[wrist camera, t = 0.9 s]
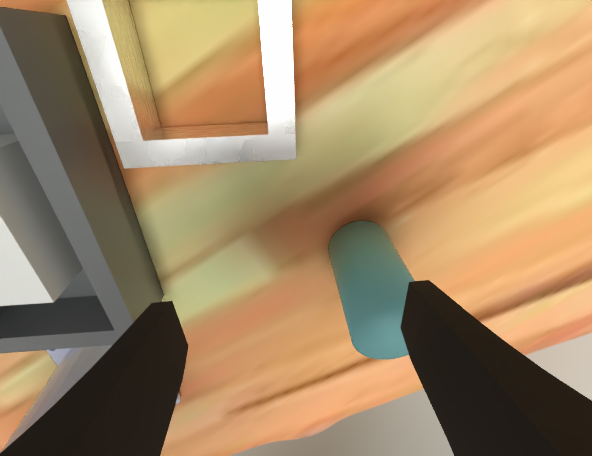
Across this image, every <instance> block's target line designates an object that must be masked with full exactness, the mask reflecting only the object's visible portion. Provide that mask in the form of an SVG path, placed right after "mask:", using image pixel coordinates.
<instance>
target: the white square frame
mask: <svg viewBox="0 0 592 456" xmlns="http://www.w3.org/2000/svg"><path fill="white" fill-rule="evenodd" d="M67 3H68V6H69V9H70V12H71V15H72V18H73V21H74V24H75V27H76V30H77V32H78V35H79V38H80V41H81V44H82V47H83V50H84V53H85V56H86V59H87V62H88V65H89V67H90V70H91V73H92V76H93V79H94V82H95V85H96V88H97V91H98V94H99V97H100V100H101V102H102V105H103V108H104V111H105V114H106V117H107V120H108V123H109V126H110V129H111V132H112V135H113V137H114V140H115V143H116V146H117V149H118V152H119V155H120V158H121V161H122V164H123V167H124V168H141V167H160V166H179V165H198V164H217V163H236V162H255V161H273V160H292V159H296V132H295V102H294V72H293V43H292V13H291V0H258V6H259V19H260V32H261V44H262V57H263V70H264V82H265V95H266V108H267V120H268V122H261V123H240V124H219V125H199V126H178V127H161V125H160V121H159V118H158V114H157V110H156V106H155V102H154V98H153V94H152V90H151V87H150V83H149V79H148V75H147V71H146V67H145V63H144V59H143V55H142V52H141V48H140V44H139V40H138V36H137V32H136V28H135V24H134V21H133V17H132V13H131V9H130V5H129V1H128V0H67Z"/></svg>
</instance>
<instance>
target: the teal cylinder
mask: <svg viewBox="0 0 592 456" xmlns="http://www.w3.org/2000/svg"><path fill="white" fill-rule="evenodd" d="M328 251H329V256H330V260H331V264H332V268H333V271H334V275H335V279H336V283H337V287H338V290H339V294H340V298H341V302H342V306H343V310H344V313H345V317H346V321H347V325H348V329H349V332H350V336H351V340H352V343H353V346H354V347H355V349H356V350H357V351H358V352H359V353H361V354H363V355H364V356H367V357H370V358H374V359H395V358H399V357H403V356H406V355H409V353H408V350H407V347H406V344H405V341H404V338H403V334H402V331H401V328H400V327H401V321H402V316H403V311H404V306H405V300H406V295H407V290H408V284H409V282H413V281H414V279H413V277H412V276H411V274H410V272H409V271H408V269H407V267H406V265H405V264H404V262H403V260H402V259H401V257H400V255H399V254H398V252H397V250H396V249H395V247H394V245H393V244H392V242H391V240H390V238H389V237H388V235H387V233H386V232H385V230H384V229H383V228H382V227H381V226H380V225H378V224H376V223H374V222H370V221H355V222H351V223H349V224H346V225H344V226H343V227H341V228H340V229H339V230H337V231H336V232H335V234H334V235H333V236H332V238H331V240H330V242H329V248H328Z"/></svg>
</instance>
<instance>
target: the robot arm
mask: <svg viewBox="0 0 592 456" xmlns="http://www.w3.org/2000/svg"><path fill="white" fill-rule="evenodd" d="M400 328H401V331H402V334H403V338H404V341H405V344H406V347H407V350H408V353H409V356H410V359H411V361H412V363H413V366H414V368H415V370H416V372H417V374H418V377H419V379H420V381H421V383H422V385H423V388H424V390H425V392H426V394H427V396H428V398H429V400H430V403H431V404H432V407H433V409H434V411H435V413H436V415H437V418H438V420H439V422H440V424H441V426H442V428H443V431H444V433H445V435H446V437H447V439H448V442H449V444H450V446H451V448H452V451H453V453H454V456H592V401H591V400H590V399H588V398H587V397H585V396H583V395H582V394H580V393H579V392H577V391H576V390H574V389H573V388H571V387H570V386H568V385H566V384H565V383H563V382H562V381H560V380H559V379H557V378H556V377H554V376H553V375H551V374H549V373H548V372H547V371H545V370H544V369H542V368H541V367H539V366H538V365H537V364H535V363H534V362H533V361H531V360H530V359H528V358H527V357H526V356H524V355H523V354H521V353H520V352H519V351H517V350H516V349H514V348H513V347H512V346H510V345H509V344H508V343H506V342H505V341H504V340H502V339H501V338H500V337H499V336H497V335H496V334H495V333H493V332H492V331H491V330H489V329H488V328H487V327H486V326H484V325H483V324H482V323H481V322H479V321H478V320H477V319H476V318H474V317H473V316H472V315H471V314H469V313H468V312H467V311H466V310H464V309H463V308H462V307H461V306H460V305H458V304H457V303H456V302H455V301H454V300H452V299H451V298H450V297H449V296H447V295H446V294H445V293H444V292H443V291H441V290H440V289H439V288H438V287H437V286H435V285H434V284H433V283H432V282H430V281H429V280H425V281H413V282H409V284H408V290H407V295H406V300H405V306H404V311H403V316H402V321H401V327H400ZM187 350H188V344H187V341H186V338H185V335H184V333H183V330H182V327H181V324H180V322H179V319H178V316H177V313H176V310H175V308H174V305H173V302H172V301H168V302H155V303H151V304H150V305H149V306H148V307H147V308H146V309H145V310H144V312H143V313H142V314H141V315H140V316H139V317H138V318H137V319H136V320H135V321H134V322H133V324H132V325H131V326H130V327H129V328H128V329H127V330H126V331H125V332H124V333H123V334H122V336H121V337H120V338H119V339H118V340H117V341H116V342H115V343H114V344H113V345H106V346H93V347H79V348H65V349H52V350H46V351H47V352H48V354H49V355H50V356H51V358H52V359H53V361H54V362H55V363H56V365H57V366H58V367H57V368H56V370H55V371H54V373H53V374H52V376H51V377H50V379H49V380H48V382H47V383H46V385H45V386H44V388H43V389H42V391H41V392H40V394H39V395H38V397H37V398H36V400H35V401H34V403H33V404H32V406H31V407H30V409H29V410H28V412H27V413H26V415H25V416H24V418H23V419H22V421H21V422H20V424H19V425H18V427H17V428H16V430H15V431H14V433H13V434H12V436H11V437H10V439H9V440H8V442H7V443H6V445H5V446H4V448H3V449H2V451H1V452H0V456H160V454H161V451H162V447H163V444H164V441H165V437H166V434H167V431H168V427H169V424H170V421H171V417H172V414H173V411H174V407H175V404H178V403H179V402H180V399H181V397H180V394H179V390H180V387H181V383H182V379H183V374H184V369H185V363H186V357H187Z"/></svg>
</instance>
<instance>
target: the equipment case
mask: <svg viewBox="0 0 592 456" xmlns="http://www.w3.org/2000/svg"><path fill="white" fill-rule="evenodd" d="M163 295H164V294H163V291H162V288H161V286H160V283H159V280H158V277H157V274H156V271H155V269H154V266H153V263H152V260H151V257H150V254H149V251H148V249H147V246H146V243H145V240H144V237H143V234H142V232H141V229H140V226H139V223H138V220H137V217H136V214H135V212H134V209H133V206H132V203H131V200H130V197H129V195H128V192H127V189H126V186H125V183H124V180H123V177H122V175H121V172H120V169H119V166H118V163H117V160H116V158H115V155H114V152H113V149H112V146H111V143H110V140H109V138H108V135H107V132H106V129H105V126H104V123H103V121H102V118H101V115H100V112H99V109H98V106H97V103H96V101H95V98H94V95H93V92H92V89H91V86H90V84H89V81H88V78H87V75H86V72H85V69H84V66H83V64H82V61H81V58H80V55H79V52H78V49H77V47H76V44H75V41H74V38H73V35H72V32H71V29H70V27H69V24H68V21H67V18H66V16H65V15H58V14H50V13H43V12H35V11H27V10H20V9H12V8H5V7H0V353H11V352H25V351H38V350H52V349H65V348H79V347H93V346H106V345H113V344H114V343H115V342H116V341H117V340H118V339H119V338H120V337H121V336H122V334H123V333H124V332H125V331H126V330H127V329H128V328H129V327H130V326H131V325H132V324H133V322H134V321H135V320H136V319H137V318H138V317H139V316H140V315H141V314H142V313H143V312H144V310H145V309H146V308H147V307H148V306H149V305H150V304H151V303H155V302H161V300H162V297H163Z"/></svg>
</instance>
